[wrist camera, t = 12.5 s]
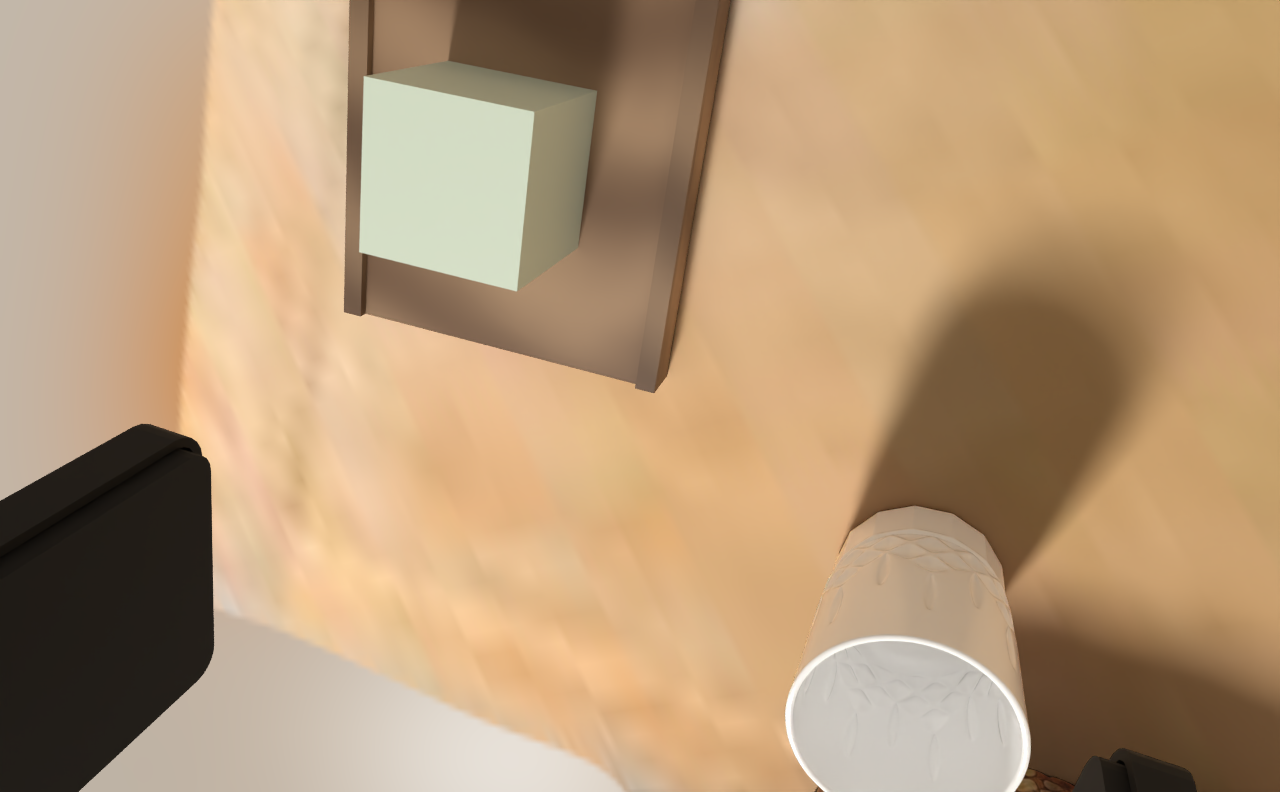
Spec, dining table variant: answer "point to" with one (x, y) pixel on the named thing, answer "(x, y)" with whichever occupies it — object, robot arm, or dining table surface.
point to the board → (616, 177)
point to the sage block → (473, 171)
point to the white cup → (911, 665)
